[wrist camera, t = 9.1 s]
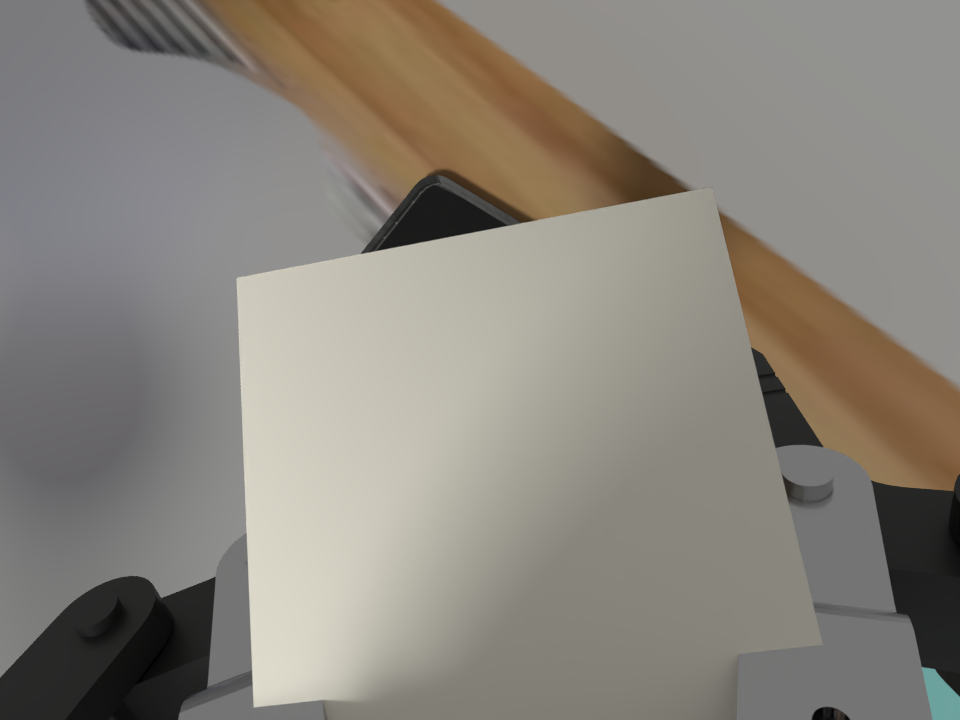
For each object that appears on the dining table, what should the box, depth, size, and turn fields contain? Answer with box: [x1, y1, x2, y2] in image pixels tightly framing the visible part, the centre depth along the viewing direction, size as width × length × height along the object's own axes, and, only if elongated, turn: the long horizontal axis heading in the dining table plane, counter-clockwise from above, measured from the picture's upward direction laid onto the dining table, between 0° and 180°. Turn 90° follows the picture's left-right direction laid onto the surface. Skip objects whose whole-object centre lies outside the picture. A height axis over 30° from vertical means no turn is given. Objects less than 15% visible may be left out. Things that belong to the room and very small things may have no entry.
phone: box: [361, 175, 521, 254], centre depth 32 cm, size 8×1×15 cm
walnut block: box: [237, 187, 823, 720], centre depth 11 cm, size 4×4×10 cm
